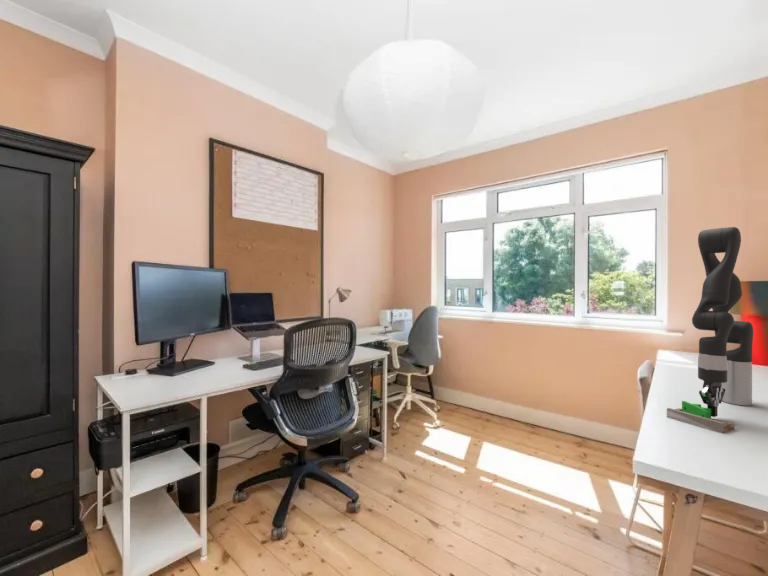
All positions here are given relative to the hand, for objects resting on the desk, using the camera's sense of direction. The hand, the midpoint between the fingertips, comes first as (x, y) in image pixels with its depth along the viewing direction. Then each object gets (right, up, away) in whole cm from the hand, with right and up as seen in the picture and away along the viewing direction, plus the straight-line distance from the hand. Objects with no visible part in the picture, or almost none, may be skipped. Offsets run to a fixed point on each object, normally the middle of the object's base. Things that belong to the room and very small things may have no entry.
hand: (712, 415), depth 120 cm
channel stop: (-8, -1, -3) cm, 9 cm away
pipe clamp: (-5, -1, 0) cm, 5 cm away
